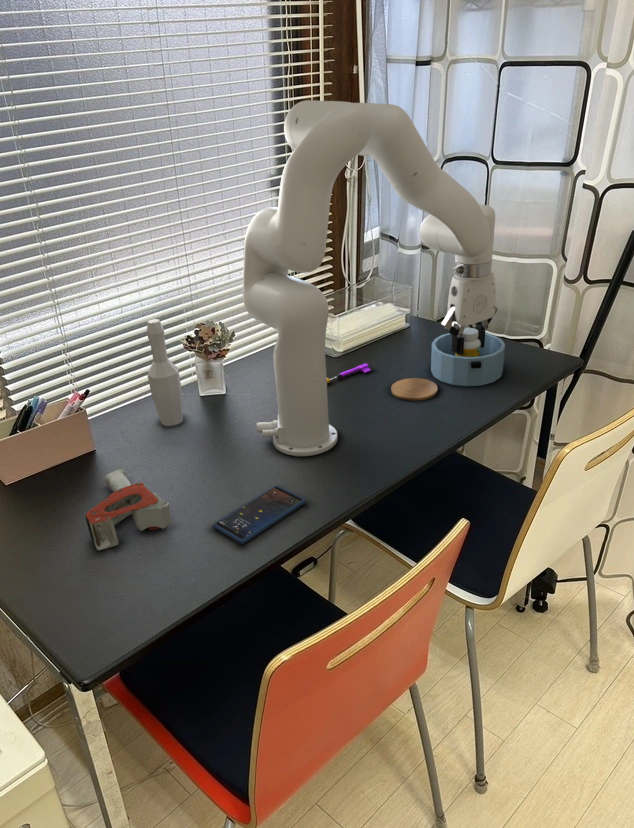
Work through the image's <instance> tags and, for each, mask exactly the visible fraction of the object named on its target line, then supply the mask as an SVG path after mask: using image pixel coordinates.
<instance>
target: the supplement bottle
mask: <svg viewBox="0 0 634 828" xmlns="http://www.w3.org/2000/svg"><path fill="white" fill-rule="evenodd" d="M462 337H464V350H463V354H462V355H459V354H457V353H455V356H460V357H480V347H481V342H480V340H479V339H478V330H477V329H474V327H465V328H464V331H463V335H462Z"/></svg>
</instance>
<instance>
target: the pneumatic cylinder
mask: <svg viewBox="0 0 634 828" xmlns="http://www.w3.org/2000/svg"><path fill="white" fill-rule="evenodd" d="M357 372H360V373H363V374H366V375H367V374H368V373H371V372H372V369H371V368H370V367H369V363H362V364H360V365H358V366H356V367H353V368H351V369H348V370H346V371H343V372H341V373H339V374H337V375H336V376H334V377H332V378H329V377H327V385H328V384H330V383H331V381H332V380H335V379H342V378H344V377H347V376H349V375H352V374H354V373H357Z"/></svg>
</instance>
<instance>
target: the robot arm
mask: <svg viewBox="0 0 634 828" xmlns="http://www.w3.org/2000/svg"><path fill="white" fill-rule="evenodd" d="M283 134H284V137H285V140H286V143H287V144H288V146H289V147H290V148H291V149H292V152H291V154H290V155H289V157H288V159H287V161H286V163H285V165H284V167H283V169H282V173H281V178H280V184H279V193H278V201H277V207H275V206H272V207H271V206H270V207H265V208H263V209H261V210H260V211H258V212H257V213H256V214H255V215H254V216H253V217H252V219H251V220H250V222H249V224H248V225H247V229H246V232H245V238H244V248H243V265H242V266H243V271H242V300H243V305H244V308H245V310H246V312H247V313H248V315H249V317H251V318H252V319H254V320H255V321H258V323H262V324H263V325H266V326H268V327H270V328H272V329H274V330H276V331H277V338H276V342H275V345H274V347H273V355H272V357H273V358H272V360H273V370H274V380H275V391H276V401H277V411H278V412H277V413H278V414H277V419H273V420H272V421H268V422H266V421H263V422H261V421H260V422H256V433H262V437H263V438H269V437H272V443H273V446H274V448H275V449H276V450H278V451H279V452H280V453H283V454H285V455H288V456H293V457H310V456H311V457H312V456H316V455H320V454H323V453H325V452H327V451H329V450H331V449H332V448H334V446H335V445H336V444H337V443H338V431H337V429H336V428H335V427H334V425H333V426H332V425H331V424H330V417H329V415H330V414H329V399H328V398H329V397H328V384H327V378H328V377H327V376H328V375H327V364H326V363H327V362H326V337H327V336H326V334H327V327H328V321H329V303H328V300H327V297H326V296H325V294H324V292H323V291H322V290H320V288H319V287H318V286H316V285H315V284H312V283H310V282H309V281H306V280H303V279H300V278H297V277H294V276H292V275H289V271H290V272H294V273H295V272H296V273H301V274H307V273H312V272H314V271H316V270H318V269H319V268H320V266H321V265H322V263H323V261H324V258H325V255H326V249H327V248H326V247H327V241H328V240H327V239H328V229H329V218H330V217H329V216H330V207H331V198H332V192H333V188H334V185H335V182H336V180H337V178H338V176H339V175H340V173H341V171H342V170H343V169H344V167H345V166H347V164H348V163H350V162H351V161H352V159H354V158H355V157H357V156H363V157H371V158H372V160H374V161H375V163H376V164H377V166H378V167H379V169H380V170H381V171H382V173H383V175H384V176H385V177H386V179H387V181H388V182H389V185H391V187H392V188H393V190H394V192H395V193H396V195H397V196H398V197H399V198H400V199H402V200H403V201H405V202H406V203H407V204H409V205H410V206H412V207H414V208H416V209H418V210H420V211H423V212H425V213H427V214H428V215H427V216H426V217H425V218H424V219H423V220H422V222H421V224H420V227H419V238H420V241H421V243H423V245H425V246H426V247H427V248H429V249H431V250H434V251H438V252H442V253H448V254H450V255H451V254H452V255H454V267H452V268H451V273H452V274H453V275H452V277H451V282H450V285H449V292H448V299H447V310H446V311H447V313H446V314H445V315H446V316H445V317H444V319H443V320H442V322H441V323H440V326H441V327H442V328H443V329H445V330H446V331H447V333H450V335H452V351H453V352H455V353H457V354H459V355H462V354H463V350H464V337H462V335H463V331H464V328H466V327H469V326H472V325H475V326H474V327H473V328H474V329H477V330H478V339H479V340H480V342H481V348H483V347H484V345H485V333H486V331H487V330H488V329H489V324H491V322H492V320H493V318H494V317H495V315H496V314H497V312H498V308H497V306H496V302H497V301H496V299H497V294H496V293H497V292H496V291H497V289H496V288H497V287H496V279H495V274H494V272H493V271H492V266H493V253H494V240H495V227H496V211H495V209H494V208H493V207H492V206H491V205H486V204H480V203H479V202H478V201H477V199H476V198H475V197H474V196H473V195H472V194H471V193H470V192H469V191H468V190H467V189H466V188H465V187H464V186H463V185H461V184H460V183H459V182H458V181H457V180H456V179H454V178H453V177H452V176H451V175H450V174H449V173H448V172H446V171H445V170H444V169H442V168H441V167H440V166H439V164H437V162H436V161H435V159H434V158H433V156H432V153H431V152H430V150H429V148H428V146H427V145H426V143H425V141H424V139H423V138H422V137H421V134H420V133H419V131H418V130H417V127H416V125H415V123H414V122H413V121H412V119H411V117H410V116H409V114H408V113H407V111H406V110H405V109H404V108H402V107H401V106H398V105H395V104H391V103H375V102H350V101H342V100H341V101H340V100H311V99H310V100H309V99H308V100H302V101H299V102H297V103H295V104H294V105H293V106H292V107H291V108H290V109H289V111H288V112H287V114H286V115H285V119H284V124H283Z"/></svg>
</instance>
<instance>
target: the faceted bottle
mask: <svg viewBox="0 0 634 828" xmlns="http://www.w3.org/2000/svg"><path fill="white" fill-rule="evenodd" d="M146 325H147V326H146V334H147V335H146V336H147V339H148V342H149V345H150V349H151V353H152V354H151V355H152V360H153V361H152V363H151V365H150V367H149V369H148V371H147V379H148V383H149V390H150V394H151V397H152V400H153V403H154V406H155V409H156V412H157V415H158V418H159V421H160V424H161V425H163V426H165V427H172V426H173V427H174V426H177V425H180V424H182V423H183V420H184V418H183V417H184V416H183V413H184V412H183V395H182V391H183V390H182V383H181V378H180V371H179V367H177V366H176V364H175V363H173V362H172V361H171V360H170V359H169V357H168V352H167V347H166V338H165V328H164V326H163V324H162V323H161V321H160V319H158V318H152V319H149V320H147V324H146Z"/></svg>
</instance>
